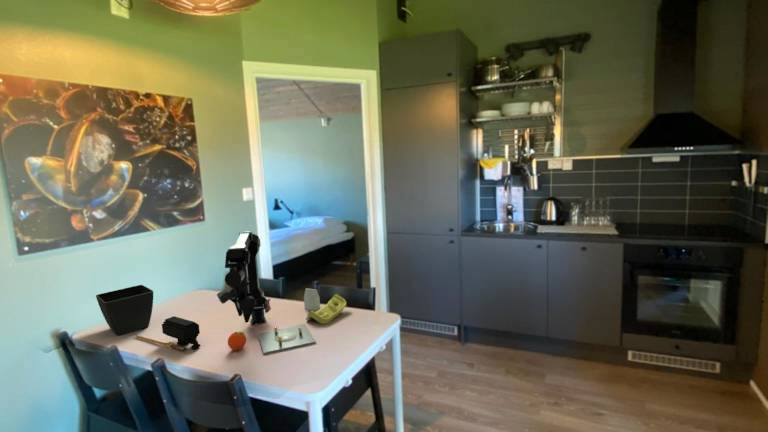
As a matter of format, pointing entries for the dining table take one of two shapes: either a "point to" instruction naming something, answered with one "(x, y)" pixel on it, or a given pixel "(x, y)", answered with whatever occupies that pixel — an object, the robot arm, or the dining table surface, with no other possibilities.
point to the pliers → (268, 305)
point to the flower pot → (127, 308)
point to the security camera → (182, 331)
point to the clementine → (237, 340)
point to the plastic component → (328, 310)
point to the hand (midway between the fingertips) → (243, 319)
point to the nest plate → (285, 339)
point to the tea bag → (311, 300)
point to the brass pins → (280, 336)
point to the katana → (161, 343)
